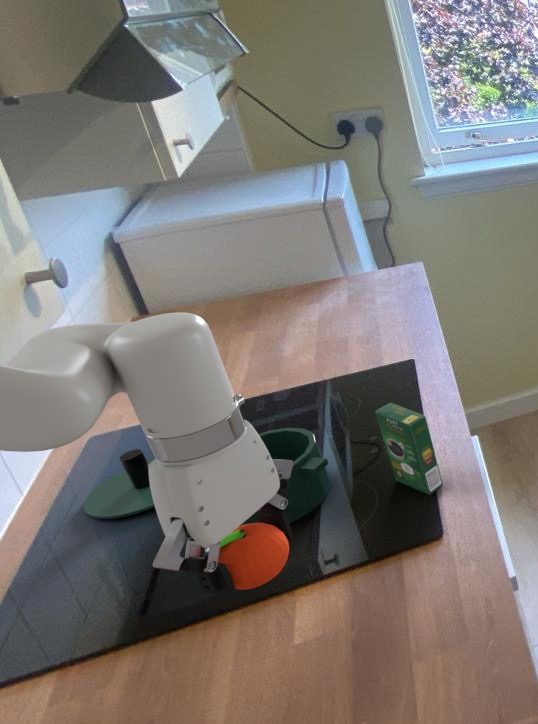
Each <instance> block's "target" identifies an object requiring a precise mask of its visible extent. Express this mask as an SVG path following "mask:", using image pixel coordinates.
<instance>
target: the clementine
mask: <svg viewBox="0 0 538 724" xmlns="http://www.w3.org/2000/svg"><path fill="white" fill-rule="evenodd" d="M289 543H290V542H289V541H288V540H287V538H286V536H285V535H284V533H283V532H282V531H281V530H279V529H278V528H276V527H275V526H273V525H270V524H266V523H251V524H246V525H242V526H240V527H237V528H236V529H235V530H234V531H233V532H231V533H230V534H229V535H228V536H226V537H225V538H224V539H223V540H221V543H220V551H219V559H218V563H224V564H225V565H226V567H227V569H228V572H229V574H230V577H231V579H232V581H233V584H234V586H235V590H240V591H241V590H242V591H244V590H251V589H254V588H257V587H261V586H263V585H265V584H267V583H268V582H270V581H272V580H274V578H275V577H277V576H278V575H279V574H280V572H282V571H283V568H284V566H285V565H286V563H287V561H288V558H289V554H290V544H289ZM202 558H204V556H203V557H202Z"/></svg>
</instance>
